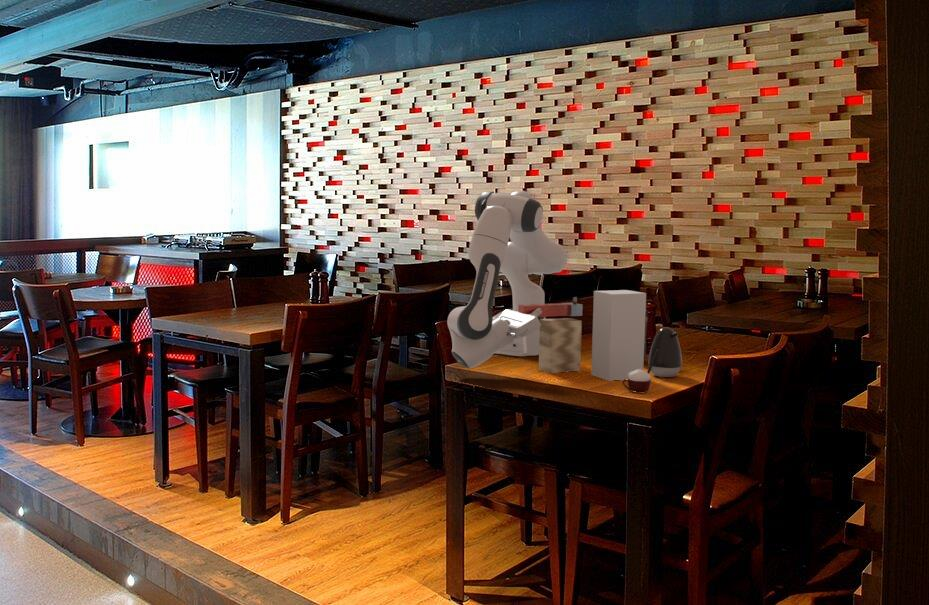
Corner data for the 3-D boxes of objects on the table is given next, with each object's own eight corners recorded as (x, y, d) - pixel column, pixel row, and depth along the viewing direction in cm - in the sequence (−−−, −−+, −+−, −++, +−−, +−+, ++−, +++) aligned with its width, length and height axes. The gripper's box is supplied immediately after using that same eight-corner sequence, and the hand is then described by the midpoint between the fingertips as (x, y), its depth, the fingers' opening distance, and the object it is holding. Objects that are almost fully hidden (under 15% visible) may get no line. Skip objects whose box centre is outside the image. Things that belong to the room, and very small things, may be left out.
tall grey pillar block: (609, 381, 255) (612, 294, 253) (591, 375, 265) (593, 290, 262) (642, 378, 260) (646, 293, 257) (624, 372, 269) (627, 290, 266)
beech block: (549, 373, 266) (550, 322, 264) (538, 369, 273) (539, 319, 271) (580, 371, 271) (581, 320, 269) (568, 367, 277) (570, 318, 275)
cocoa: (621, 393, 241) (620, 351, 239) (627, 388, 247) (626, 347, 245) (655, 395, 237) (654, 352, 235) (660, 390, 243) (659, 348, 241)
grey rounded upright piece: (661, 380, 258) (663, 330, 256) (640, 374, 267) (642, 325, 266) (688, 378, 262) (691, 328, 260) (667, 372, 272) (669, 324, 270)
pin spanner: (525, 317, 261) (525, 299, 261) (516, 315, 267) (516, 297, 266) (582, 315, 269) (582, 298, 268) (572, 313, 275) (572, 296, 274)
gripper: (511, 328, 251) (548, 303, 255) (482, 319, 270) (517, 296, 274) (521, 346, 253) (557, 321, 257) (491, 336, 272) (525, 313, 276)
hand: (536, 308), depth 266 cm, fingers closed on pin spanner, 3 cm apart
